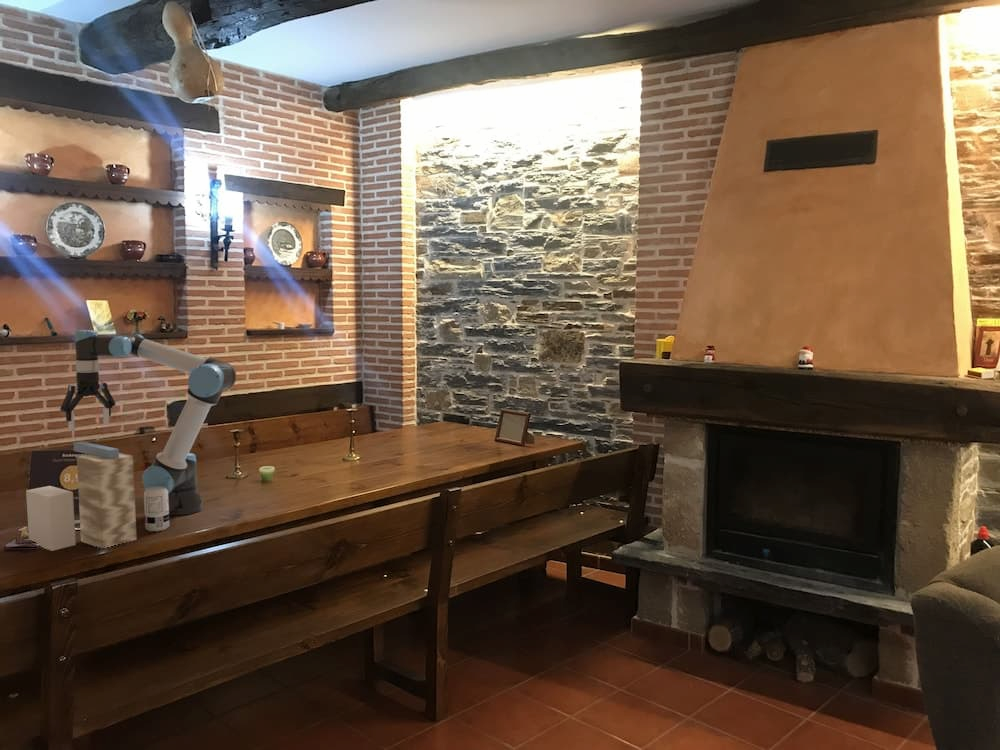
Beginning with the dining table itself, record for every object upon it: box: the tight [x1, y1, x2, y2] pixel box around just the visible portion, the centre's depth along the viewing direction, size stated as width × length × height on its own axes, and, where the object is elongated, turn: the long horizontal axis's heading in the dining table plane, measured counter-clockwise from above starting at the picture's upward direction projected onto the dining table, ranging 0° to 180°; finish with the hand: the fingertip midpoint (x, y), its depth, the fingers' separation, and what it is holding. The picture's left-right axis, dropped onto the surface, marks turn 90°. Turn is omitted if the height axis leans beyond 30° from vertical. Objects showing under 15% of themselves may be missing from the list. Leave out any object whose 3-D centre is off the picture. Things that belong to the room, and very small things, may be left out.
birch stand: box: [76, 452, 138, 549], centre depth 280 cm, size 12×14×30 cm
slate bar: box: [73, 441, 120, 459], centre depth 282 cm, size 3×23×3 cm, turn 56°
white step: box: [25, 485, 76, 552], centre depth 277 cm, size 8×15×18 cm, turn 56°
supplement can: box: [143, 486, 170, 532], centre depth 296 cm, size 8×8×15 cm
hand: (89, 427), depth 306 cm, fingers open, 13 cm apart
